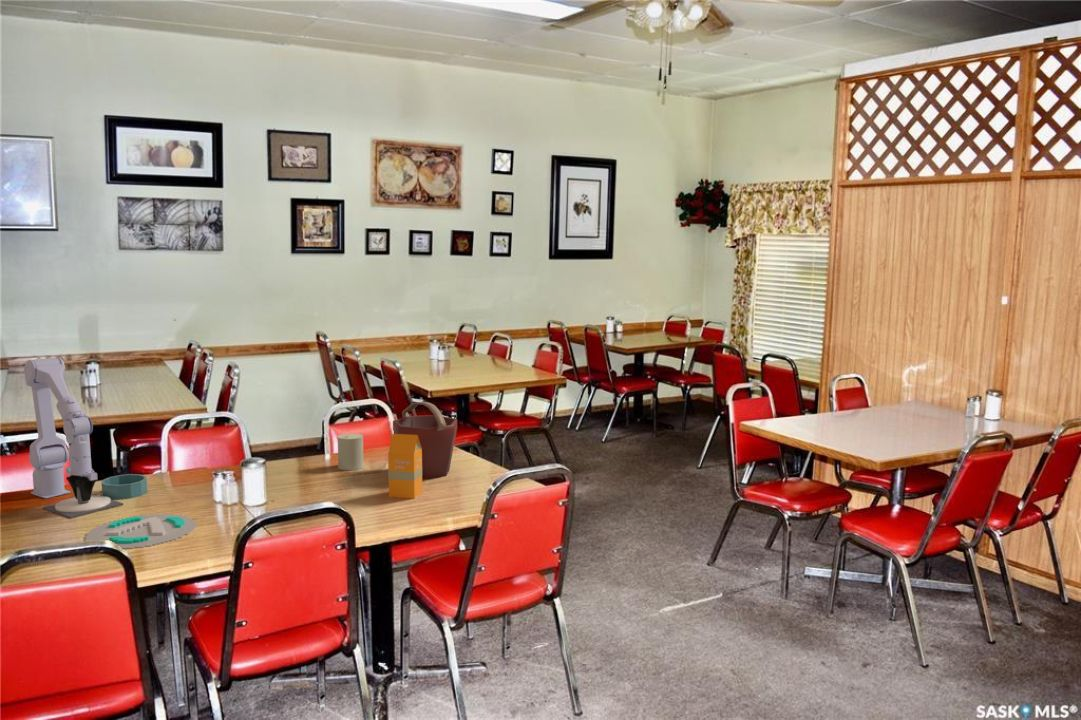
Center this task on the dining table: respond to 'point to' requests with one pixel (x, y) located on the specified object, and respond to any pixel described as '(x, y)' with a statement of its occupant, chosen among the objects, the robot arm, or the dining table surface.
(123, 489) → the bowl
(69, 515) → the mat
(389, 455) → the orange juice
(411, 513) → the dining table surface
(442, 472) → the bucket
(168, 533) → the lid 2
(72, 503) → the lid
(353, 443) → the can
